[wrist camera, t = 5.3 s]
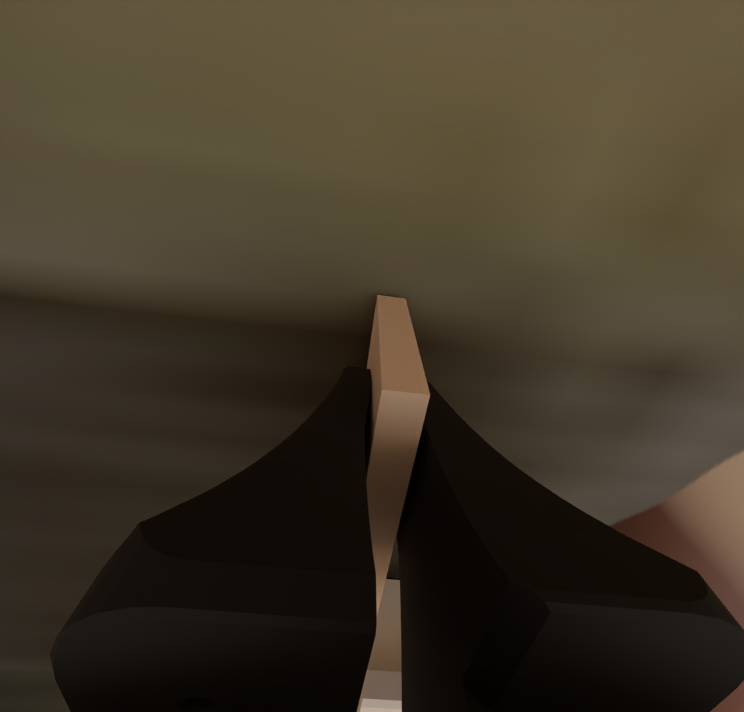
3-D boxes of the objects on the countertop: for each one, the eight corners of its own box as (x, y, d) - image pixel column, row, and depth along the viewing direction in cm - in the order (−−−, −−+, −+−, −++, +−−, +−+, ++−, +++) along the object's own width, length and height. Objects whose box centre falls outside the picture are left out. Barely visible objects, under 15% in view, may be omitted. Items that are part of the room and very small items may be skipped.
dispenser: (453, 686, 21) (472, 809, 17) (197, 670, 20) (155, 795, 16) (502, 579, 17) (544, 709, 13) (181, 553, 16) (118, 683, 12)
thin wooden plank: (351, 596, 17) (344, 752, 12) (333, 595, 17) (319, 750, 12) (405, 298, 11) (429, 395, 6) (377, 294, 11) (381, 389, 6)
